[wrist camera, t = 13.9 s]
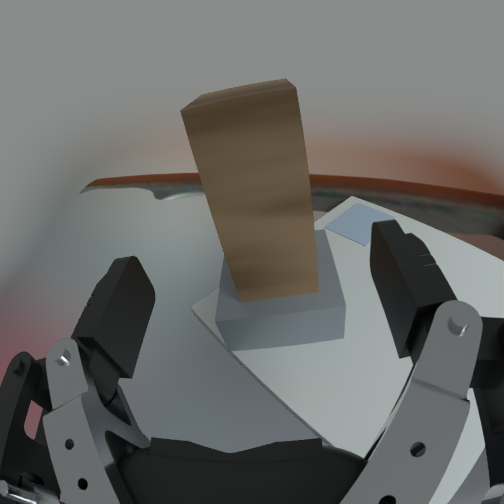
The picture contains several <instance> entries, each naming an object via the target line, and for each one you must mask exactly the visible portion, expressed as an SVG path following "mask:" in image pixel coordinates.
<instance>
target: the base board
mask: <svg viewBox="0 0 504 504" xmlns="http://www.w3.org/2000/svg"><path fill="white" fill-rule="evenodd" d="M393 219H395V220H396V221H397V222H398V223H399V225H400V227H401V228H402V230H403V231H404V233H405V234H407V233H413V234H414V235H415V236H417V237H418V238H419V239H421V240H422V241H423V242H424V243H425V245H426V246H427V248H428V249H429V251H430V253H431V255H432V256H433V257H434V259H435V261H436V264H437V265H438V266H439V267H440V269H441V271H442V272H443V274H444V276H445V278H446V279H447V281H448V283H449V285H450V286H451V288H452V290H453V292H454V294H455V296H456V297H457V299H458V301H463V302H466V303H468V304H469V305H471V306H472V307H474V308H475V309H476V310H477V312H478V313H479V315H480V316H482V317H495V318H504V261H502V260H500V259H498V258H496V257H494V256H492V255H490V254H488V253H486V252H484V251H482V250H480V249H478V248H476V247H474V246H472V245H470V244H468V243H466V242H463V241H461V240H459V239H457V238H455V237H453V236H451V235H448V234H446V233H444V232H442V231H439V230H437V229H435V228H432V227H430V226H428V225H425V224H423V223H421V222H418V221H416V220H413V219H411V218H409V217H406V216H404V215H401V214H399V213H396V212H394V211H391V210H388V209H386V208H383V207H381V206H378V205H375V204H373V203H370V202H367V201H364V200H362V199H359V198H356V197H353V196H351V197H350V198H348V199H347V200H346V201H344V202H343V203H341V204H340V205H338V206H337V207H336V208H334V209H333V210H331V211H330V212H328V213H327V214H326V215H324V216H323V217H321V218H320V219H318V220H317V221H315V222H314V229H315V241H316V253H317V267H318V282H319V292H316V293H309V294H302V295H294V296H287V297H279V298H271V299H263V300H254V301H246V302H240V300H239V297H238V294H237V291H236V288H235V285H234V282H233V279H232V276H231V273H230V270H229V267H228V264H227V261H226V258H225V255H224V261H223V267H222V275H221V281H220V287H219V288H217V289H216V290H215V291H213V292H211V293H210V294H209V295H207V296H206V297H204V298H203V299H201V300H200V301H198V302H197V303H195V304H194V305H192V306H191V310H192V312H193V313H194V315H195V316H196V317H197V318H198V319H199V320H200V322H201V323H202V324H203V325H204V326H205V327H206V328H207V329H208V330H209V332H210V333H211V334H212V335H213V336H214V337H215V338H216V339H217V340H218V341H219V342H220V343H221V344H222V345H223V346H224V347H225V348H226V349H227V351H228V352H229V353H230V354H231V355H232V356H233V357H234V358H235V359H236V360H237V361H238V362H239V363H240V364H241V365H242V366H243V367H244V368H245V369H246V370H247V371H248V372H249V373H250V374H251V375H252V376H253V377H254V378H255V379H256V380H257V381H258V382H259V383H260V384H261V385H262V386H263V387H264V388H265V389H266V390H267V391H268V392H269V393H271V394H272V395H273V396H274V397H275V398H276V399H277V400H278V401H279V402H280V403H281V404H282V405H283V406H284V407H286V409H288V410H289V411H290V412H291V413H292V414H293V415H294V416H295V417H297V418H298V419H299V420H300V421H301V422H302V423H303V424H304V425H306V426H307V427H308V428H309V429H310V430H311V431H312V432H313V433H315V434H316V435H317V436H318V437H319V438H322V440H323V441H324V442H325V443H326V444H328V445H329V446H331V447H336V448H341V449H344V450H347V451H350V452H352V453H355V454H357V455H359V456H361V457H362V458H364V457H365V455H366V453H367V452H368V450H369V448H370V447H371V445H372V443H373V442H374V440H375V438H376V437H377V435H378V433H379V432H380V430H381V428H382V427H383V425H384V423H385V422H386V420H387V418H388V416H389V414H390V412H391V410H392V408H393V406H394V404H395V402H396V400H397V398H398V396H399V394H400V392H401V390H402V388H403V386H404V384H405V381H406V379H407V377H408V375H409V372H410V370H411V368H412V366H413V364H412V360H411V357H410V356H409V357H405V358H401V359H399V357H398V353H397V350H396V347H395V343H394V340H393V337H392V334H391V331H390V328H389V324H388V321H387V318H386V315H385V312H384V310H383V307H382V304H381V301H380V298H379V295H378V293H377V290H376V287H375V284H374V282H373V279H372V276H371V271H370V261H369V260H370V245H371V228H372V223H373V222H377V221H385V220H393ZM467 400H469V401H470V410H469V414H468V417H467V420H466V423H465V426H464V429H463V431H462V434H461V437H460V439H459V442H458V444H457V447H456V449H455V452H454V454H453V456H452V459H451V461H450V463H449V465H448V467H447V470H446V472H445V474H444V476H443V478H442V480H441V482H440V484H439V486H438V488H437V490H436V491H435V493H434V495H433V497H432V499H431V501H430V502H429V504H447V503H448V502H449V501H450V499H451V498H452V497H453V495H454V494H455V493H456V491H457V490H458V488H459V487H460V485H461V484H462V483H463V481H464V480H465V478H466V477H467V475H468V474H469V472H470V471H471V469H472V467H473V466H474V464H475V463H476V461H477V459H478V458H479V456H480V454H481V453H482V451H483V449H484V447H485V442H484V436H483V431H482V426H481V421H480V417H479V412H478V408H477V404H476V400H475V396H474V392H473V388H469V389H468V393H467Z"/></svg>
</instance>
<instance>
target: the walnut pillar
mask: <svg viewBox="0 0 504 504" xmlns="http://www.w3.org/2000/svg"><path fill="white" fill-rule="evenodd" d="M181 115H182V118H183V122H184V125H185V128H186V132H187V135H188V139H189V142H190V146H191V149H192V152H193V156H194V159H195V162H196V166H197V169H198V172H199V176H200V179H201V182H202V185H203V189H204V192H205V195H206V198H207V201H208V204H209V208H210V211H211V214H212V217H213V220H214V224H215V226H216V230H217V233H218V236H219V239H220V242H221V245H222V248H223V251H224V254H225V258H226V261H227V264H228V267H229V270H230V273H231V276H232V279H233V282H234V285H235V288H236V291H237V294H238V297H239V300H240V302H246V301H254V300H263V299H271V298H279V297H287V296H294V295H302V294H309V293H316V292H319V282H318V267H317V253H316V241H315V229H314V218H313V208H312V199H311V189H310V181H309V172H308V164H307V156H306V149H305V142H304V135H303V128H302V122H301V115H300V108H299V102H298V97H297V90H296V87H295V86H294V85H292V84H291V83H290V82H289V81H288V80H287V79H281V80H274V81H267V82H261V83H255V84H249V85H244V86H239V87H234V88H230V89H225V90H220V91H216V92H212V93H208V94H203V95H201V96H199V97H198V98H197V99H195V100H194V101H193V102H191V103H190V104H189V105H187V106H186V107H185V108H183V109H182V110H181Z"/></svg>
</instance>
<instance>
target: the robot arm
mask: <svg viewBox="0 0 504 504" xmlns="http://www.w3.org/2000/svg"><path fill="white" fill-rule="evenodd" d="M369 261H370V271H371V276H372V279H373V282H374V284H375V287H376V290H377V293H378V295H379V298H380V301H381V304H382V307H383V310H384V312H385V315H386V318H387V321H388V324H389V328H390V331H391V334H392V337H393V340H394V343H395V347H396V350H397V353H398V357H399V359H401V358H405V357H409V356H410V357H411V360H412V364H413V366H412V368H411V370H410V372H409V375H408V377H407V379H406V381H405V384H404V386H403V388H402V390H401V392H400V394H399V396H398V398H397V400H396V402H395V404H394V406H393V408H392V410H391V412H390V414H389V416H388V418H387V420H386V422H385V423H384V425H383V427H382V428H381V430H380V432H379V433H378V435H377V437H376V438H375V440H374V442H373V443H372V445H371V447H370V448H369V450H368V452H367V453H366V455H365V457H364V458H362V457H361V456H359V455H357V454H355V453H352V452H350V451H347V450H344V449H341V448H336V447H331V446H323V445H322V438H316V439H307V440H297V441H284V442H274V443H271V444H267V445H264V446H260V447H256V448H252V449H248V450H244V451H240V452H235V453H225V452H221V451H218V450H215V449H211V448H208V447H205V446H201V445H198V444H195V443H192V442H189V441H181V440H170V439H161V438H154V437H152V438H151V442H150V441H149V439H148V438H147V437H146V436H145V435H144V434H143V433H142V432H141V430H140V429H139V427H138V425H137V423H136V421H135V419H134V416H133V414H132V412H131V410H130V407H129V405H128V403H127V400H126V398H125V396H124V393H123V391H122V389H121V387H120V386H119V385H118V380H119V378H132V376H133V373H134V369H135V366H136V362H137V359H138V355H139V351H140V348H141V345H142V342H143V338H144V335H145V332H146V328H147V325H148V322H149V319H150V316H151V313H152V310H153V307H154V303H155V291H154V288H153V285H152V284H151V282H150V280H149V278H148V276H147V274H146V273H145V271H144V269H143V267H142V265H141V263H140V262H139V260H138V258H137V257H135V256H130V257H124V258H118V259H115V260H114V261H113V263H112V265H111V267H110V268H109V270H108V272H107V274H106V275H105V276H104V277H103V278H102V279H101V280H100V281H99V282H98V284H97V285H96V287H95V289H94V291H93V293H92V295H91V296H92V297H90V299H89V300H88V302H87V306H85V308H84V310H83V312H82V315H81V317H80V319H79V321H78V323H77V325H76V327H75V330H74V332H73V334H72V336H71V338H66V339H62V340H60V341H59V342H57V343H56V344H55V345H54V346H53V347H52V348H51V350H50V351H49V353H48V355H47V357H46V358H43V359H39V360H35V359H34V358H33V357H32V356H31V355H30V354H29V353H28V352H20V353H18V354H17V355H16V356H15V357H14V358H13V359H12V361H11V362H10V364H9V366H8V368H7V371H6V373H5V376H4V379H3V381H2V384H1V387H0V504H429V502H430V501H431V499H432V497H433V495H434V493H435V491H436V490H437V488H438V486H439V484H440V482H441V480H442V478H443V476H444V474H445V472H446V470H447V467H448V465H449V463H450V461H451V459H452V456H453V454H454V452H455V449H456V447H457V444H458V442H459V439H460V437H461V434H462V431H463V429H464V426H465V423H466V420H467V417H468V414H469V410H470V401H469V400H467V393H468V389H469V388H473V392H474V396H475V400H476V404H477V408H478V412H479V417H480V421H481V426H482V431H483V436H484V442H485V448H486V454H487V461H488V469H489V478H490V490H489V491H488V492H487V493H486V495H485V496H484V498H483V500H482V502H481V503H480V504H504V318H495V317H482V316H480V315H479V313H478V312H477V310H476V309H475V308H474V307H472V306H471V305H469V304H468V303H466V302H463V301H458V299H457V297H456V296H455V294H454V292H453V290H452V288H451V286H450V285H449V283H448V281H447V279H446V278H445V276H444V274H443V272H442V271H441V269H440V267H439V266H438V265H437V264H436V261H435V259H434V257H433V256H432V255H431V253H430V251H429V249H428V248H427V246H426V245H425V243H424V242H423V241H422V240H421V239H419V238H418V237H417V236H415V235H414V234H413V233H407V234H405V233H404V231H403V230H402V228H401V227H400V225H399V223H398V222H397V221H396V220H395V219H393V220H385V221H377V222H373V223H372V228H371V245H370V260H369ZM31 400H32V401H34V402H35V403H36V404H38V405H39V406H41V407H42V408H43V411H42V414H41V418H40V421H39V425H38V429H37V433H36V437H35V439H34V440H33V439H31V438H29V437H28V436H27V435H26V433H25V431H24V422H25V419H26V416H27V412H28V409H29V405H30V402H31ZM21 474H22V475H21ZM60 493H62V496H63V498H64V501H65V503H63V502H60Z"/></svg>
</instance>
